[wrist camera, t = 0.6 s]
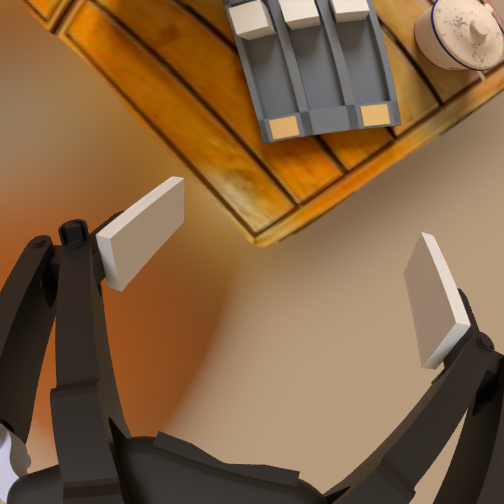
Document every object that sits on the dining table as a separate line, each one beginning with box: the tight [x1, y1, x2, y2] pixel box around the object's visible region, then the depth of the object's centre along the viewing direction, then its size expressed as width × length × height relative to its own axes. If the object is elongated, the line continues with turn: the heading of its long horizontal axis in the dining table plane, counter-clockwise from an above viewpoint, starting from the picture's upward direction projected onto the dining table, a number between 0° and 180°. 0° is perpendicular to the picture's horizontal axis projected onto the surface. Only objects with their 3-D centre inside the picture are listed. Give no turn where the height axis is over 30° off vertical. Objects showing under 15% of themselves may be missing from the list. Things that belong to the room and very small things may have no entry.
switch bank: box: [223, 0, 401, 144], centre depth 28 cm, size 22×17×4 cm
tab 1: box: [229, 0, 277, 41], centre depth 26 cm, size 4×4×5 cm
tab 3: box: [329, 0, 370, 23], centre depth 22 cm, size 4×4×5 cm
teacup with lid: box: [414, 0, 503, 71], centre depth 18 cm, size 12×9×12 cm
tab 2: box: [278, 0, 321, 30], centre depth 24 cm, size 4×4×5 cm
